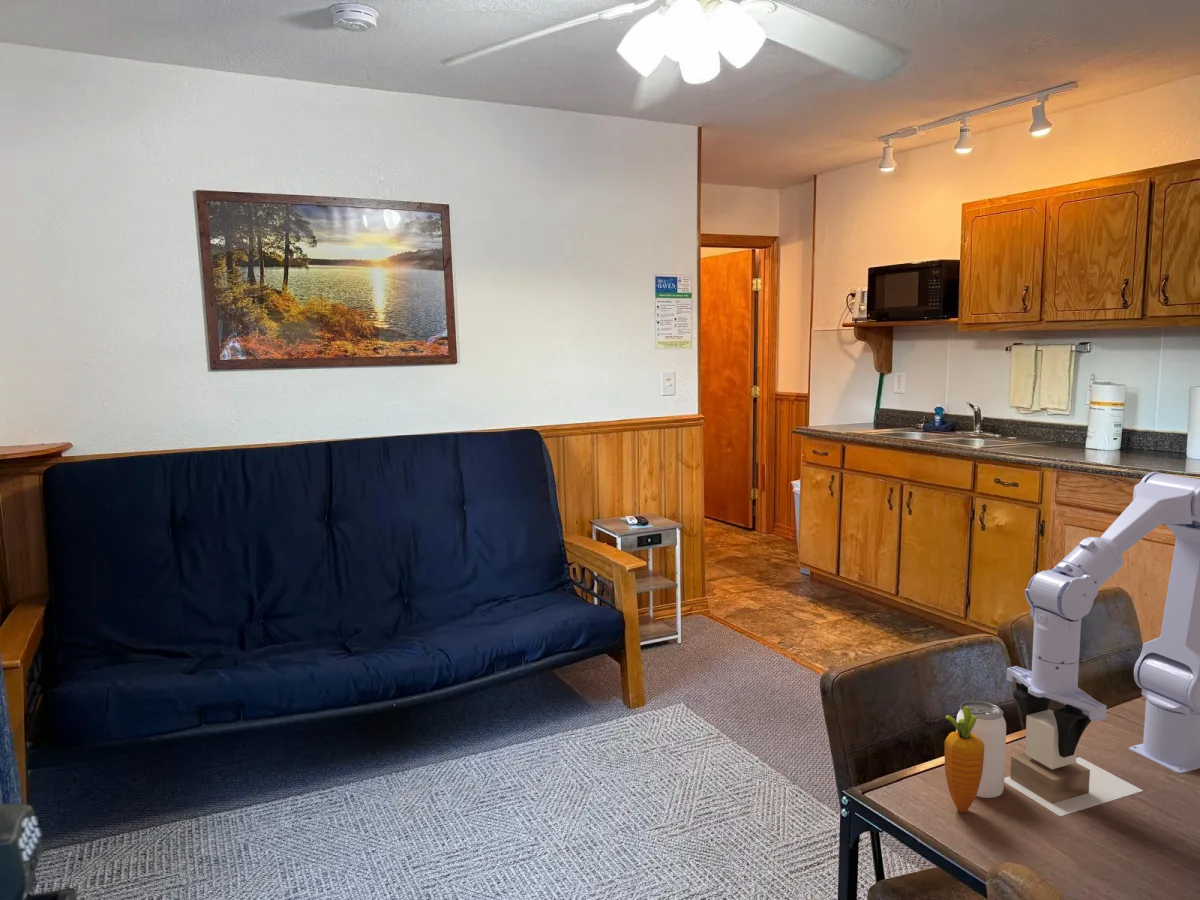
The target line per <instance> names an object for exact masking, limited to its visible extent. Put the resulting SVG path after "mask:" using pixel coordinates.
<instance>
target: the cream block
mask: <svg viewBox="0 0 1200 900" xmlns="http://www.w3.org/2000/svg"><path fill="white" fill-rule="evenodd" d="M1053 711H1054V710H1052V709H1047V710H1046V711H1042V712H1038V713H1034V714H1030V715H1027V720H1026V724H1025V746H1024V747H1025V749H1024V753H1025V754H1026V755H1027V756H1029V757H1031V758H1033V759H1035V760H1036V761H1038V762H1040V763H1042V764H1043V765H1045V766H1047V767H1049V768H1051V769H1055V768H1059V767H1062V766H1066V765H1069V764H1073V763H1076V758H1077V747H1078V746H1077V747H1076V750H1075V752H1074V755H1072V756H1068V757H1062V756H1060V755H1059V748H1058V727H1057V722H1056V719H1055V716H1054V714H1053Z"/></svg>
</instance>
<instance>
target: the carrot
mask: <svg viewBox="0 0 1200 900" xmlns="http://www.w3.org/2000/svg"><path fill="white" fill-rule="evenodd" d="M963 713H964V719H960V720H959V722H958V723H957V719H956V718H954V717H952V716H951V715H948V714H946V715H945V719H946V720H948V721H949V722H950V723H951V724H952V725H953V726H954V728H955V731H951V732H950V733H948V736H946V738H945V739H944V771H945V772H944V773H945V778H946V785H947V788H948V792H949V794H950V797H951V800H952V802H953V804H954V806H955V809H956V810H957V811H958V812H959V813H962V814H965V813H967V812H968V810H969V809H970V807H971V806H972V804H973V802H974V800H975V799H976V797H977V796H976V795H977V792H978V788H979V785H980V781H981V777H982V771H983V761H984V743H983V742H982V741H981V740H980V739H979V738H978V737H977V736H976V735H975V734H972V733H971V730H972V729H973V727H974V725H975V722H976V719H977V718H976V717H975V716H974V715H972V716H971V708H969V707H967V706H965V707H963ZM956 730H957V732H956Z"/></svg>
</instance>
